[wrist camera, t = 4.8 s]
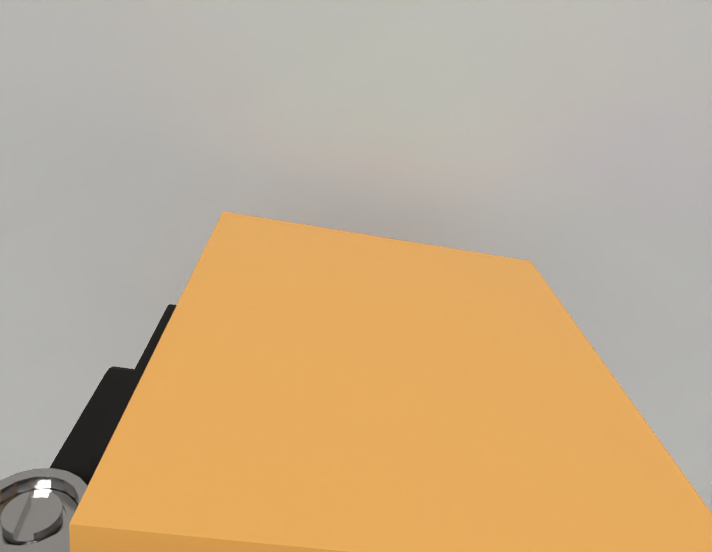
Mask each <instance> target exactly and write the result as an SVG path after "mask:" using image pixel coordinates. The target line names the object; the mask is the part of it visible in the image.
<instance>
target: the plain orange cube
mask: <svg viewBox="0 0 712 552" xmlns="http://www.w3.org/2000/svg"><path fill="white" fill-rule="evenodd" d="M69 534H70V552H712V513H711V511H710V510H709V509H708V507H707V506H706V504H705V503H704V502H703V500H702V499H701V497H700V496H699V495H698V493H697V492H696V490H695V489H694V488H693V486H692V485H691V484H690V482H689V481H688V479H687V478H686V477H685V475H684V474H683V472H682V471H681V470H680V468H679V467H678V465H677V464H676V463H675V461H674V460H673V458H672V457H671V456H670V454H669V453H668V451H667V450H666V449H665V447H664V446H663V444H662V443H661V442H660V440H659V439H658V438H657V436H656V435H655V433H654V432H653V431H652V429H651V428H650V426H649V425H648V424H647V422H646V421H645V419H644V418H643V417H642V415H641V414H640V412H639V411H638V410H637V408H636V407H635V405H634V404H633V403H632V401H631V400H630V399H629V397H628V396H627V394H626V393H625V392H624V390H623V389H622V387H621V386H620V385H619V383H618V382H617V380H616V379H615V378H614V376H613V375H612V373H611V372H610V371H609V369H608V368H607V366H606V365H605V364H604V362H603V361H602V359H601V358H600V357H599V355H598V354H597V353H596V351H595V350H594V348H593V347H592V346H591V344H590V343H589V341H588V340H587V339H586V337H585V336H584V334H583V333H582V332H581V330H580V329H579V327H578V326H577V325H576V323H575V322H574V320H573V319H572V318H571V316H570V315H569V313H568V312H567V311H566V309H565V308H564V307H563V305H562V304H561V302H560V301H559V300H558V298H557V297H556V295H555V294H554V293H553V291H552V290H551V288H550V287H549V286H548V284H547V283H546V281H545V280H544V279H543V277H542V276H541V274H540V273H539V272H538V270H537V269H536V267H535V266H534V265H533V263H532V262H531V261H527V260H521V259H515V258H509V257H502V256H496V255H490V254H484V253H478V252H471V251H465V250H459V249H453V248H447V247H440V246H434V245H428V244H422V243H415V242H409V241H403V240H397V239H391V238H384V237H378V236H372V235H366V234H360V233H353V232H347V231H341V230H335V229H329V228H322V227H316V226H310V225H304V224H298V223H291V222H285V221H279V220H273V219H266V218H260V217H254V216H248V215H242V214H235V213H229V212H222V214H221V216H220V219H219V221H218V223H217V225H216V227H215V229H214V231H213V233H212V235H211V237H210V239H209V241H208V243H207V245H206V247H205V249H204V251H203V253H202V255H201V257H200V259H199V261H198V263H197V265H196V267H195V269H194V271H193V273H192V275H191V277H190V279H189V282H188V284H187V286H186V288H185V290H184V292H183V294H182V296H181V298H180V300H179V302H178V304H177V306H176V308H175V310H174V312H173V314H172V316H171V318H170V320H169V322H168V324H167V326H166V328H165V330H164V332H163V334H162V336H161V338H160V340H159V342H158V344H157V347H156V349H155V351H154V353H153V355H152V357H151V359H150V361H149V363H148V365H147V367H146V369H145V371H144V373H143V375H142V377H141V379H140V381H139V383H138V385H137V387H136V389H135V391H134V393H133V395H132V397H131V399H130V401H129V403H128V405H127V407H126V410H125V412H124V414H123V416H122V418H121V420H120V422H119V424H118V426H117V428H116V430H115V432H114V434H113V436H112V438H111V440H110V442H109V444H108V446H107V448H106V450H105V452H104V454H103V456H102V458H101V460H100V462H99V464H98V466H97V468H96V470H95V472H94V475H93V477H92V479H91V481H90V483H89V485H88V487H87V489H86V491H85V493H84V495H83V497H82V499H81V501H80V503H79V505H78V507H77V509H76V511H75V513H74V515H73V517H72V519H71V521H70V523H69Z"/></svg>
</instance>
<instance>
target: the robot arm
mask: <svg viewBox="0 0 712 552" xmlns="http://www.w3.org/2000/svg"><path fill="white" fill-rule="evenodd" d="M176 306H177V305H171V304H170V305H168V307H167V308H166V310H165V312H164V314H163V316H162V318H161V320H160V322H159V324H158V326H157V328H156V330H155V331H154V333H153V335H152V337H151V339H150V341H149V343H148V345H147V347H146V349H145V351H144V353H143V355H142V356H141V358H140V360H139V362H138V364H137V366H136V368H135V369H128V368H120V367H111V368H109V370H108V371H107V372H106V374H105V375H104V377H103V379H102V380H101V382H100V384H99V385H98V387H97V389H96V390H95V392H94V394H93V396H92V397H91V399H90V401H89V402H88V404H87V406H86V407H85V409H84V411H83V412H82V414H81V416H80V418H79V419H78V421H77V423H76V424H75V426H74V428H73V429H72V431H71V433H70V434H69V436H68V438H67V440H66V441H65V443H64V445H63V446H62V448H61V450H60V451H59V453H58V455H57V456H56V458H55V460H54V462H53V463H52V465H51V467H50V468H44V469H32V470H28V471H24V472H20V473H16V474H14V475H12V476H9V477H7V478H5V479H3V480H1V481H0V552H70V534H69V523H70V521H71V519H72V517H73V515H74V513H75V511H76V509H77V507H78V505H79V503H80V501H81V499H82V497H83V495H84V493H85V491H86V489H87V487H88V485H89V483H90V481H91V479H92V477H93V475H94V472H95V470H96V468H97V466H98V464H99V462H100V460H101V458H102V456H103V454H104V452H105V450H106V448H107V446H108V444H109V442H110V440H111V438H112V436H113V434H114V432H115V430H116V428H117V426H118V424H119V422H120V420H121V418H122V416H123V414H124V412H125V410H126V407H127V405H128V403H129V401H130V399H131V397H132V395H133V393H134V391H135V389H136V387H137V385H138V383H139V381H140V379H141V377H142V375H143V373H144V371H145V369H146V367H147V365H148V363H149V361H150V359H151V357H152V355H153V353H154V351H155V349H156V347H157V344H158V342H159V340H160V338H161V336H162V334H163V332H164V330H165V328H166V326H167V324H168V322H169V320H170V318H171V316H172V314H173V312H174V310H175V308H176Z"/></svg>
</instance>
